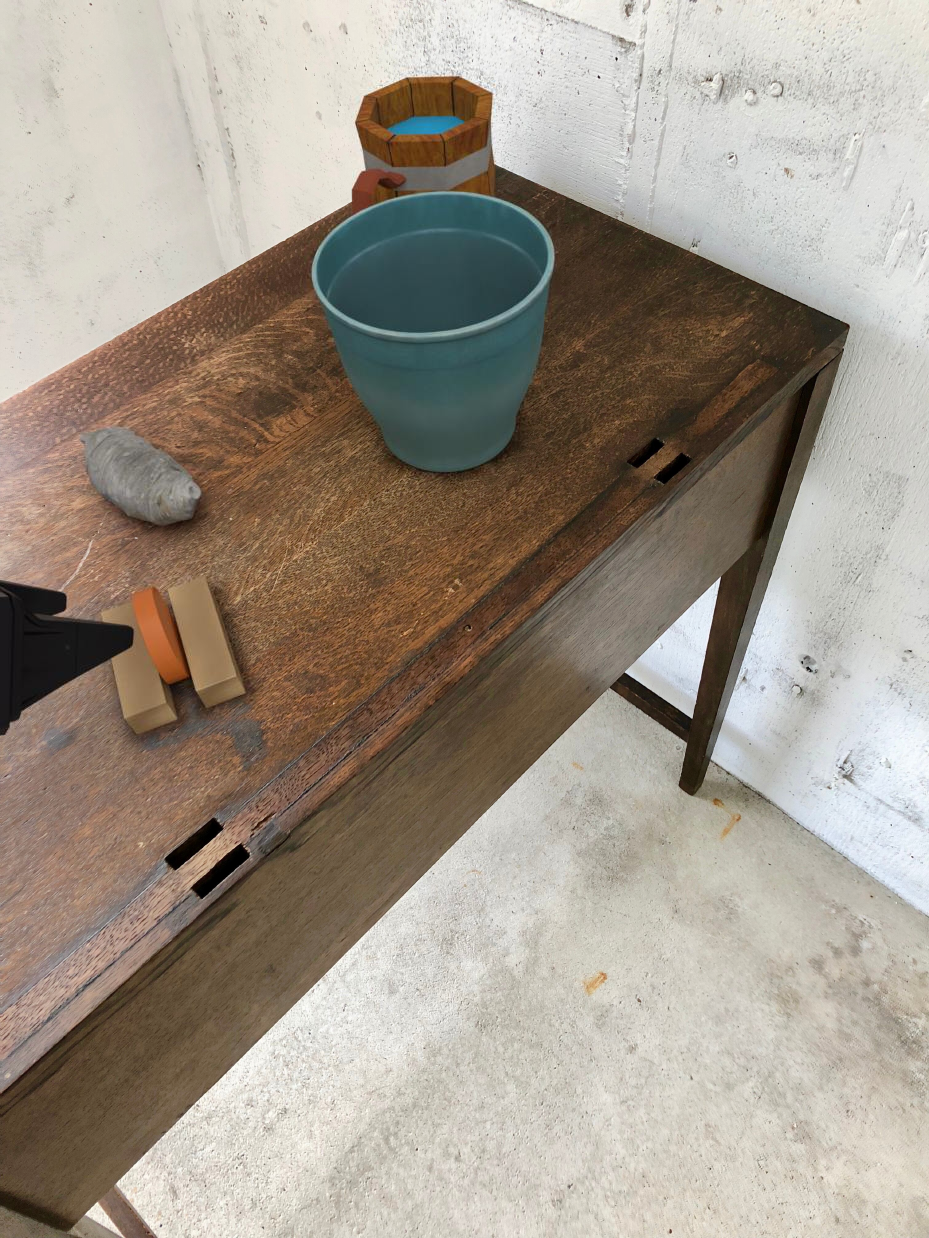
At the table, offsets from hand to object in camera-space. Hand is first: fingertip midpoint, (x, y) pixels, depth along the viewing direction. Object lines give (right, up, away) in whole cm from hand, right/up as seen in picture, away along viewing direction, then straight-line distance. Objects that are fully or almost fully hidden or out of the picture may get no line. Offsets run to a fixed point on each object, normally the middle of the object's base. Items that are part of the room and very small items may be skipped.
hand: (96, 617), depth 49 cm
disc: (-1, -3, +17) cm, 17 cm away
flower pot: (+19, +17, +30) cm, 39 cm away
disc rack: (-1, -3, +17) cm, 17 cm away
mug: (+16, +37, +44) cm, 60 cm away
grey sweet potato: (-7, +10, +27) cm, 30 cm away
